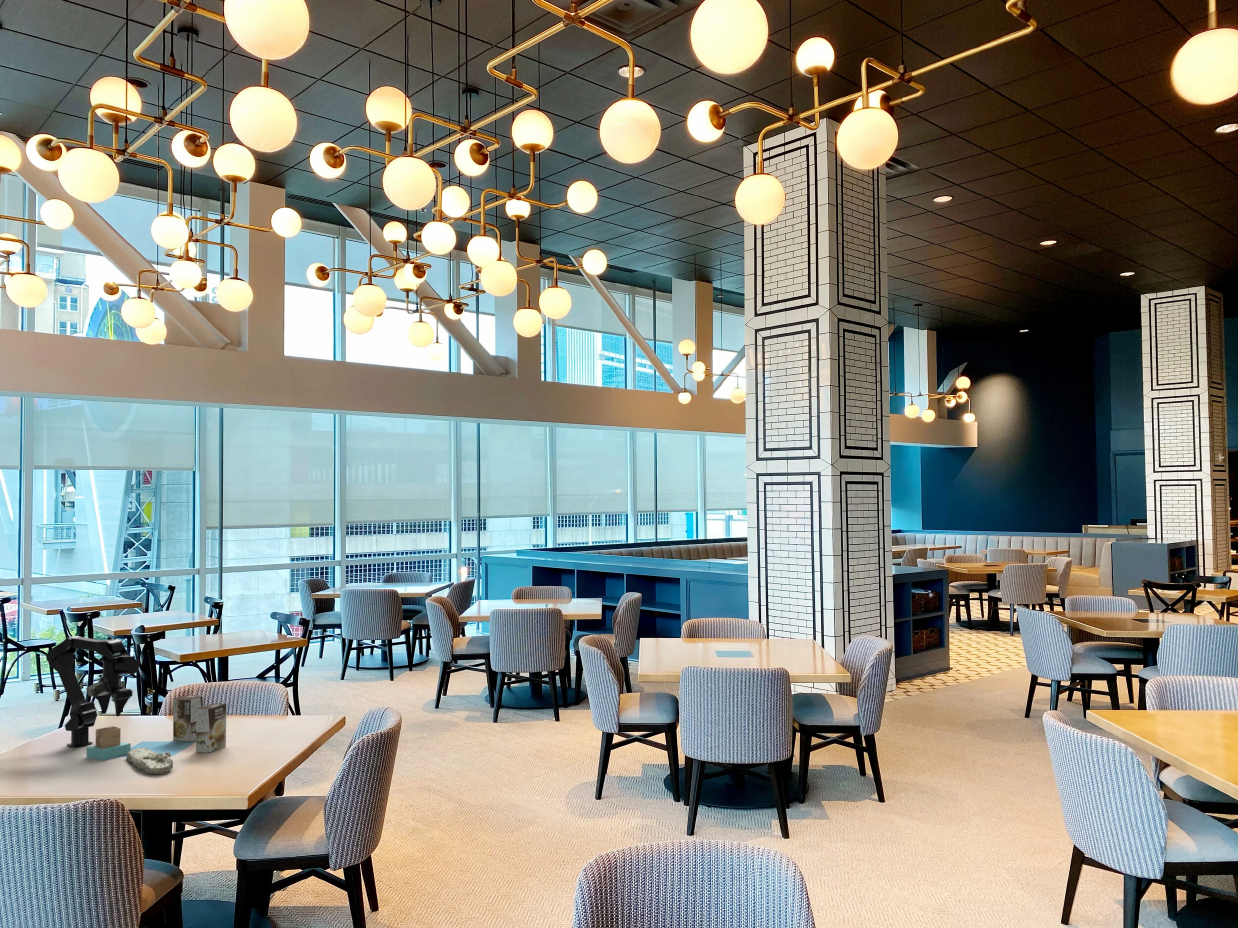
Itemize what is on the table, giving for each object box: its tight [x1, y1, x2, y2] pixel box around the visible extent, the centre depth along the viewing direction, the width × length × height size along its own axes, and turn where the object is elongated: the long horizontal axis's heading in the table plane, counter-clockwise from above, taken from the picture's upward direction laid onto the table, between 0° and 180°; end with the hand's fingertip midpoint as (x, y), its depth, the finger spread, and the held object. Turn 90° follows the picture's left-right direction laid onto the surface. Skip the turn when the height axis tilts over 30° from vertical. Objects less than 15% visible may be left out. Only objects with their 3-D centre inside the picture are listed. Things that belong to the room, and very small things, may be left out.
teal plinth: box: [86, 741, 132, 761], centre depth 326 cm, size 10×10×4 cm
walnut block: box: [95, 725, 122, 748], centre depth 326 cm, size 6×6×6 cm
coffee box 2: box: [195, 702, 227, 753], centre depth 332 cm, size 9×6×16 cm
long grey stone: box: [125, 747, 174, 775], centre depth 313 cm, size 35×5×10 cm
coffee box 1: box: [172, 695, 204, 742], centre depth 348 cm, size 9×6×16 cm
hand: (111, 714), depth 338 cm, fingers open, 9 cm apart
